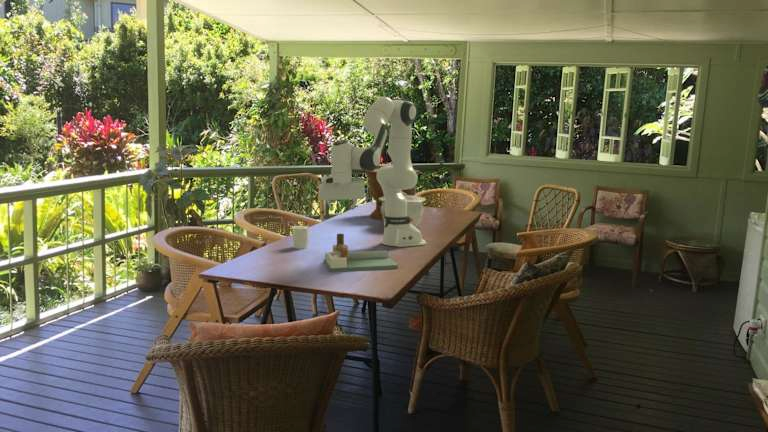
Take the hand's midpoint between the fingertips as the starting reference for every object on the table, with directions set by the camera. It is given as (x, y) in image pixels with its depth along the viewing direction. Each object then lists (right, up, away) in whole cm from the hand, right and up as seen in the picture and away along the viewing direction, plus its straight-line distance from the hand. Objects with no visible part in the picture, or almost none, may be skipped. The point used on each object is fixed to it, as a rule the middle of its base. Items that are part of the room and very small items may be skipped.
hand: (342, 209), depth 274 cm
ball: (-2, -21, -8) cm, 23 cm away
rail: (+6, -22, +3) cm, 23 cm away
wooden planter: (+23, -3, +125) cm, 127 cm away
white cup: (-22, -18, +32) cm, 43 cm away
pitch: (+8, -24, -3) cm, 25 cm away
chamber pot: (+29, -9, +90) cm, 95 cm away
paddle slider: (0, -22, -4) cm, 22 cm away
